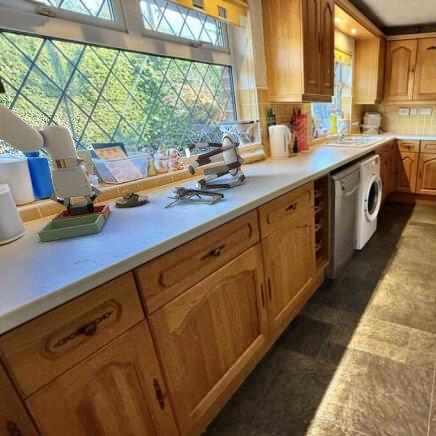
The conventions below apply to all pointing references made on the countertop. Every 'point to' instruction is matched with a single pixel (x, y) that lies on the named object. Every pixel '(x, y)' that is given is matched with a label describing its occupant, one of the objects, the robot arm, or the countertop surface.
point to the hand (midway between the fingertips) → (83, 214)
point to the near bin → (71, 227)
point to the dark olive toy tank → (130, 199)
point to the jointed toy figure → (229, 157)
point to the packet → (79, 209)
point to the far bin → (98, 210)
